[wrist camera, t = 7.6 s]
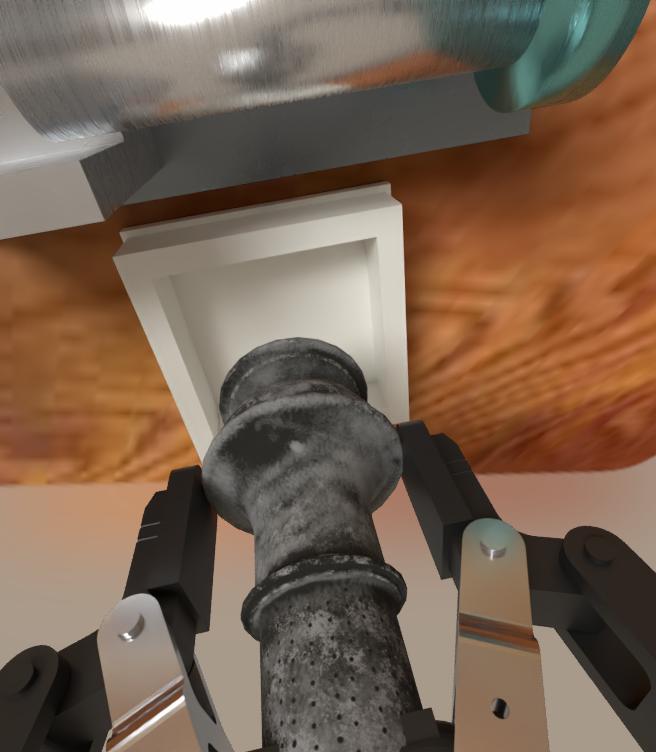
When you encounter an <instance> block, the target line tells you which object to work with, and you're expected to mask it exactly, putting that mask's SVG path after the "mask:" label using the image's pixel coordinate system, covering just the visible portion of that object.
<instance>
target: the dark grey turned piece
mask: <svg viewBox="0 0 656 752" xmlns="http://www.w3.org/2000/svg"><path fill="white" fill-rule="evenodd" d="M219 409H220V413H221V417H222V421H223V423H224V426H223V429H222V430H221V431H220V432H219V433H218V434H217V435H216V437H215V438H214V439H213V440H212V442H211V444H210V446H209V448H208V450H207V453H206V455H205V457H204V459H203V465H202V479H201V483H202V487H203V490H204V493H205V495H206V498H207V500H208V502H209V504H210V505H211V506H212V508H213V509H214V510H215V511H216V513H217V514H218V515H219V516H220V517H221V518H223V519H224V520H225V521H227V522H228V523H230V524H231V525H233V526H234V527H236V528H237V529H239V530H242V531H244V532H247V533H250V534H252V535H254V537H255V587H254V588H253V589H252V590H251V591H250V593H249V594H248V596H247V597H246V599H245V600H244V602H243V605H242V611H241V621H242V623H243V626H244V629H245V630H246V631H247V632H248V633H249V634H250V635H251V636H252V637H253V638H254V639H255V640H257V641H259V642H260V664H261V665H260V667H261V708H262V709H261V711H262V748H264V747H269V746H273V745H277V744H279V752H399V751H400V749H401V747H405V746H406V739H405V735H404V730H403V726H402V722H401V718H400V715H402V714H406V713H410V712H414V711H419V710H423V708H422V704H421V701H420V697H419V694H418V690H417V687H416V683H415V679H414V676H413V672H412V669H411V665H410V662H409V658H408V655H407V651H406V647H405V644H404V640H403V637H402V634H401V630H400V626H399V623H398V619H397V615H398V614H399V612H400V611H401V609H402V607H403V605H404V603H405V601H406V597H407V587H406V584H405V581H404V579H403V577H402V575H401V574H400V573H399V572H398V571H397V570H396V569H395V568H393V567H392V566H391V565H389V564H387V563H385V561H384V557H383V554H382V551H381V547H380V544H379V540H378V537H377V533H376V530H375V527H374V523H373V520H372V513H373V512H374V511H376V510H377V509H378V508H379V507H380V506H382V505H383V503H384V502H385V501H386V500H387V499H388V497H389V496H390V495H391V493H392V492H393V491H394V490H395V488H396V486H397V483H398V481H399V479H400V476H401V474H402V472H403V458H402V445H401V439H400V436H399V433H398V431H397V430H396V428H395V427H394V426H393V425H392V423H391V422H390V421H389V420H388V418H387V417H386V416H385V415H384V414H383V413H381V412H379V411H378V410H376V409H375V408H373V407H372V406H371V405H370V404H369V403H368V387H367V384H366V381H365V378H364V375H363V372H362V370H361V368H360V367H359V366H358V364H357V363H356V362H355V360H354V359H353V358H352V357H351V356H350V355H349V354H347V353H346V352H344V351H343V350H342V349H340V348H339V347H337V346H335V345H332V344H330V343H327V342H324V341H322V340H319V339H311V338H302V337H295V338H286V339H278V340H274V341H272V342H269V343H266V344H264V345H261V346H258V347H256V348H255V349H253V350H252V351H250V352H249V353H247V354H246V355H244V356H243V357H241V358H240V359H239V360H238V361H237V362H236V363H235V365H234V366H233V367H232V368H231V369H230V370H229V372H228V373H227V375H226V377H225V380H224V382H223V384H222V386H221V389H220V401H219Z"/></svg>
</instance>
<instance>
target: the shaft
mask: <svg viewBox="0 0 656 752" xmlns="http://www.w3.org/2000/svg"><path fill="white" fill-rule="evenodd" d="M649 2H650V0H0V82H1V84H2V86H3V88H4V89H5V91H6V92H7V94H8V96H9V97H10V99H11V100H12V102H13V103H14V105H15V106H16V108H17V109H18V110H19V112H20V113H21V114H22V116H23V117H24V118H25V119H26V121H27V122H28V123H29V124H30V125H31V126H32V127H33V128H34V129H35V130H36V131H37V132H38V133H39V134H40V135H41V136H43V137H44V138H46V139H47V140H49V141H52V142H62V141H68V140H73V139H79V138H85V137H91V136H97V135H103V134H109V133H115V132H121V131H127V130H133V129H139V128H145V127H150V126H156V125H162V124H168V123H174V122H180V121H186V120H192V119H198V118H204V117H210V116H216V115H222V114H227V113H233V112H239V111H245V110H251V109H257V108H263V107H269V106H275V105H281V104H287V103H293V102H298V101H304V100H310V99H316V98H322V97H328V96H334V95H340V94H346V93H352V92H358V91H364V90H370V89H375V88H381V87H387V86H393V85H399V84H405V83H411V82H417V81H423V80H429V79H435V78H441V77H447V76H452V75H458V74H464V73H470V72H473V75H474V78H475V82H476V84H477V87H478V90H479V92H480V94H481V96H482V98H483V99H484V101H485V102H486V104H487V105H488V106H489V107H490V108H491V109H493V110H495V111H496V112H500V113H511V112H517V111H523V110H528V109H534V108H540V107H546V106H551V105H557V104H563V103H569V102H572V101H575V100H578V99H580V98H581V97H583V96H585V95H587V94H588V93H589V92H591V91H592V90H593V89H595V88H596V87H597V86H598V85H599V84H600V83H601V82H602V81H603V80H604V79H605V78H606V77H607V75H608V74H609V73H610V72H611V71H612V69H613V68H614V67H615V66H616V64H617V63H618V61H619V60H620V58H621V57H622V55H623V54H624V52H625V51H626V49H627V47H628V46H629V44H630V42H631V40H632V39H633V37H634V35H635V33H636V31H637V29H638V27H639V25H640V23H641V21H642V19H643V17H644V15H645V12H646V10H647V7H648V5H649Z"/></svg>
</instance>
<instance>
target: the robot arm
mask: <svg viewBox="0 0 656 752" xmlns="http://www.w3.org/2000/svg"><path fill="white" fill-rule="evenodd" d="M396 430H397V431H398V433H399V436H400V439H401V445H402V458H403V472H402V474H401V477H402V480H403V482H404V484H405V487H406V490H407V492H408V495H409V497H410V500H411V503H412V505H413V508H414V511H415V513H416V516H417V518H418V521H419V523H420V526H421V529H422V531H423V534H424V536H425V539H426V541H427V544H428V546H429V549H430V551H431V554H432V557H433V559H434V562H435V565H436V567H437V570H438V572H439V575H440V578H441V580H443V579H447V578H453V580H454V583H455V585H456V588H457V590H458V602H457V603H458V604H457V623H456V644H455V666H454V684H453V702H452V721H451V723H450V722H446V721H439V720H435V718H434V715H433V711H432V708H427V709H423V710H419V711H414V712H410V713H406V714H402V715H400V718H401V722H402V726H403V730H404V735H405V739H406V746H405V747H401V749H400V751H399V752H550V750H549V740H548V730H547V718H546V708H545V697H544V686H543V676H542V665H541V655H540V649H539V644H538V641H537V639H536V638H534V635H533V629H532V625H537V626H544V627H551V628H554V629H555V630H556V632H557V633H558V634H559V636H560V637H561V638H562V640H563V641H564V643H565V644H566V645H567V647H568V648H569V649H570V651H571V652H572V654H573V655H574V656H575V658H576V659H577V660H578V662H579V663H580V665H581V666H582V667H583V669H584V670H585V671H586V673H587V674H588V676H589V677H590V678H591V679H592V681H593V682H594V684H595V685H596V686H597V688H598V689H599V691H600V692H601V693H602V695H603V696H604V698H605V699H606V700H607V701H608V703H609V704H610V706H611V707H612V708H613V710H614V711H615V713H616V714H617V715H618V717H619V718H620V719H621V721H622V722H623V723H624V725H625V726H626V728H627V729H628V730H629V732H630V733H631V734H632V736H633V737H634V739H635V740H636V741H637V743H638V744H639V746H640V747H641V748H642V750H643V751H644V752H656V573H655V572H654V571H653V570H652V569H651V568H650V567H649V566H648V565H647V564H646V563H645V562H644V561H643V560H642V559H641V558H640V557H639V556H638V555H637V554H636V553H635V552H634V551H633V550H632V549H631V548H630V547H629V546H628V545H627V544H625V543H624V542H623V541H622V540H621V539H620V538H618V537H617V536H616V535H614V534H612V533H610V532H609V531H606V530H604V529H601V528H598V527H592V526H581V527H576V528H574V529H572V530H570V531H569V532H568V533H567V535H566V536H565V538H564V539H560V538H549V537H537V536H530V535H527V534H523V533H521V532H518V531H517V530H515V529H514V528H513V527H512V526H511V525H509V524H507V523H505V522H503V521H502V519H501V518H500V517H499V516H498V514H497V513H496V511H495V509H494V508H493V506H492V504H491V503H490V501H489V499H488V497H487V495H486V494H485V492H484V490H483V489H482V487H481V485H480V483H479V482H478V480H477V478H476V476H475V475H474V473H473V472H472V471H471V468H470V466H469V464H468V463H467V461H466V460H465V457H464V456H463V454H462V452H461V451H460V449H459V447H458V445H457V444H456V443H455V442H454V441H452V440H451V439H450V438H448V437H447V436H446V435H445V434H443V433H441V434H436V435H431V436H430V434H429V432H428V430H427V428H426V426H425V424H424V422H423V421H422V420H416V421H411V422H406V423H401V424H397V426H396ZM201 479H202V469H201V467H200V466H199V465H195V466H190V467H185V468H180V469H175V470H172V471H171V473H170V476H169V481H168V486H167V490H164V491H159V492H156V493H155V494H154V496H153V497H152V499H151V500H150V502H149V503H148V505H147V506H146V508H145V511H144V514H143V518H142V523H141V529H140V531H139V535H138V542H137V543H136V547H135V551H134V555H133V559H132V563H131V567H130V571H129V575H128V579H127V583H126V588H125V591H124V595H123V598H122V601H120V602H119V603H118V604H116V605H115V606H114V607H113V608H112V609H111V610H110V611H109V612H108V614H107V615H106V616H105V618H104V619H103V621H102V623H101V625H100V628H99V629H98V630H96V631H95V632H93V633H92V634H90V635H88V636H86V637H85V638H83V639H81V640H79V641H77V642H75V643H74V644H72V645H70V646H68V647H66V648H64V649H62V650H61V651H59V652H56V651H55V650H54V649H53V648H51V647H50V646H46V645H39V646H34V647H31V648H28V649H26V650H24V651H22V652H21V653H19V654H18V655H16V656H15V657H14V658H13V659H11V660H10V661H9V662H8V663H7V664H6V665H5V666H4V667H3V668H2V669H1V670H0V752H102V749H103V746H104V743H105V740H106V737H107V734H108V731H109V730H110V729H112V728H113V734H112V737H111V738H109V739H108V741H107V744H106V752H234V750H233V748H232V746H231V744H230V742H229V740H228V738H227V736H226V734H225V732H224V730H223V727H222V725H221V722H220V720H219V717H218V715H217V712H216V709H215V706H214V704H213V701H212V698H211V695H210V693H209V690H208V687H207V684H206V682H205V679H204V676H203V674H202V671H201V668H200V665H199V663H198V660H197V657H196V655H195V653H194V646H195V636H196V634H198V633H203V632H207V631H209V627H210V613H211V600H212V585H213V572H214V559H215V544H216V530H217V513H216V511H215V510H214V509H213V508H212V506H211V505H210V504H209V502H208V500H207V498H206V495H205V493H204V490H203V487H202V483H201ZM248 752H279V744H277V745H273V746H269V747H264V748H260V749H256V750H252V751H248Z"/></svg>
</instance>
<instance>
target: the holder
mask: <svg viewBox="0 0 656 752" xmlns="http://www.w3.org/2000/svg"><path fill="white" fill-rule="evenodd" d="M119 233H120V236H121V238H122V241H123V244H122V246H121V247H120V248H119V249H118V250H117V252H116V253H115V254H114V255H113V257H112V259H113V261H114V263H115V265H116V268H117V270H118V272H119V275H120V277H121V279H122V281H123V284H124V286H125V288H126V291H127V293H128V295H129V297H130V300H131V302H132V304H133V306H134V309H135V311H136V313H137V316H138V318H139V320H140V322H141V325H142V327H143V329H144V332H145V334H146V336H147V338H148V341H149V343H150V345H151V348H152V350H153V352H154V354H155V357H156V359H157V361H158V364H159V366H160V368H161V370H162V373H163V375H164V377H165V380H166V382H167V384H168V386H169V389H170V391H171V393H172V396H173V398H174V400H175V402H176V405H177V407H178V409H179V412H180V414H181V416H182V418H183V421H184V423H185V425H186V428H187V430H188V432H189V434H190V437H191V439H192V441H193V444H194V446H195V448H196V450H197V453H198V455H199V457H200V460H201V462H202V464H203V459H204V457H205V455H206V453H207V450H208V448H209V446H210V444H211V442H212V440H213V439H214V438H215V437H216V435H217V434H218V433H219V432H220V431H221V430H222V429H223V426H224V423H223V421H222V417H221V413H220V409H219V401H220V389H221V386H222V384H223V382H224V380H225V377H226V375H227V373H228V372H229V370H230V369H231V368H232V367H233V366H234V365H235V363H236V362H237V361H238V360H239V359H240V358H241V357H243V356H244V355H246V354H247V353H249V352H250V351H252V350H253V349H255V348H256V347H258V346H261V345H264V344H266V343H269V342H272V341H274V340H278V339H286V338H295V337H302V338H311V339H319V340H322V341H324V342H327V343H330V344H332V345H335V346H337V347H339V348H340V349H342V350H343V351H344V352H346V353H347V354H349V355H350V356H351V357H352V358H353V359H354V360H355V362H356V363H357V364H358V366H359V367H360V368H361V370H362V372H363V375H364V378H365V381H366V384H367V387H368V403H369V404H370V405H371V406H372V407H373V408H375V409H376V410H378V411H379V412H381V413H383V414H384V415H385V416H386V417H387V418H388V420H389V421H390V422H391V423H392V425H393V424H398V423H403V422H407V421H409V393H408V364H407V334H406V305H405V276H404V247H403V218H402V204H401V203H400V202H398V201H397V200H396V199H394V198H393V197H392V196H391V184H390V183H389V182H388V181H384V182H378V183H373V184H367V185H362V186H356V187H350V188H345V189H339V190H334V191H328V192H323V193H317V194H311V195H306V196H300V197H295V198H289V199H283V200H278V201H272V202H267V203H261V204H256V205H250V206H244V207H239V208H233V209H228V210H222V211H217V212H211V213H205V214H200V215H194V216H189V217H183V218H178V219H172V220H166V221H161V222H155V223H150V224H144V225H138V226H133V227H127V228H123V229H122V230H121V231H120V232H119Z"/></svg>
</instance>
